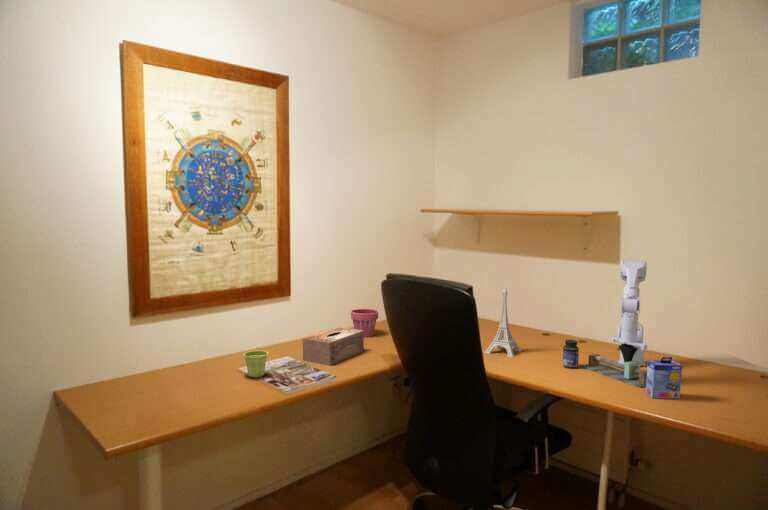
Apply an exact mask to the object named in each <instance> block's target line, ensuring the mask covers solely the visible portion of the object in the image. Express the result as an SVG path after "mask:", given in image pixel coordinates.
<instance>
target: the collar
mask: <svg viewBox="0 0 768 510" xmlns="http://www.w3.org/2000/svg"><path fill="white" fill-rule="evenodd" d="M632 366H633V367H636V368H637V369H640V370H641V366H640V362H639V361H636V360H635V361H629V362H625V367H624V370H623V371H624V378H627V379H632V378H637V377H639V375H638V374H635V373H634V374H633V373H631V367H632Z"/></svg>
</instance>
